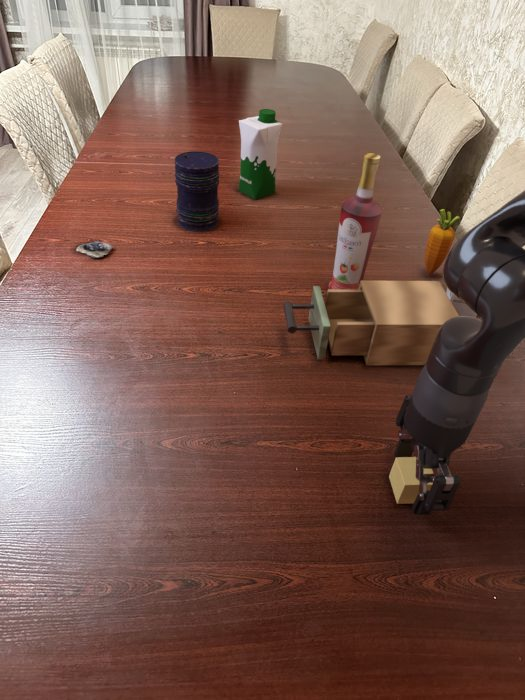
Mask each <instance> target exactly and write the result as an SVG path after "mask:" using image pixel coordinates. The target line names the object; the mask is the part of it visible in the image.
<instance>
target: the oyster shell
mask: <svg viewBox="0 0 525 700" xmlns="http://www.w3.org/2000/svg"><path fill="white" fill-rule="evenodd" d="M113 248H114V246H113V245H112V244H110V243H108V242H104V241H103V242H102V241H98V240H97V241H92V242H90V243H83V244H80V245H78V246H77V247H76V252H79V253H81V254H86V255H87V256H89V257H91V258H93V259H98V258H104V255H105V256H106V255H109V252H111V250H112V249H113Z"/></svg>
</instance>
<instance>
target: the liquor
mask: <svg viewBox="0 0 525 700" xmlns="http://www.w3.org/2000/svg"><path fill="white" fill-rule="evenodd" d="M380 161H381V155H380V154H377V153H373V152H367V153H364V155H363V160H362V173H361V177H360V180H359V184H358V186H357V190H356V194H355V195H354V196H350V197H348V198H346V199H345V200H343V201H342V202H341V207H340V214H339V223H338V229H337V237H336V247H335V257H334V264H333V270H332V277H331V280H330V282H329V283H328V289H348V290H359V285H360V281H361V280H364V277H365V274H366V271H367V266H368V263H369V260H370V255H371V253H372V249H373V246H374V242H375V239H376V236H377V232H378V229H379V225H380V221H381V217H382V214H383V206H381V204H380V203H379V202H378V201H377V200H376V199H374V198H373V197H374V189H375V181H376V174H377V171H378V169H379V165H380Z"/></svg>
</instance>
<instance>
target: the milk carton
mask: <svg viewBox="0 0 525 700" xmlns="http://www.w3.org/2000/svg"><path fill="white" fill-rule="evenodd" d="M276 115H277V114H276V110H273V109H270V108H262V109H260V110H259V111H258V115H256V116H250V117H246V118H243V119H240V120H238V125H239V133H240V166H239V168H240V169H239V170H240V171H239V180H238V186H237V187H238V188H237V190H238V191H239V192H241V193H242V194H244V195H246V196H248V197H249V198H251V199H253V200H254V201H256V200H259V199H262V198H265V197H268V196H271V195H274V194H276V175H277V174H276V171H277V162H278V161H277V160H278V159H277V158H278V147H279V140H280V136H281V131H282V128H283V123H282V122H280V121H278V120H276Z"/></svg>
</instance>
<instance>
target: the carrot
mask: <svg viewBox="0 0 525 700" xmlns="http://www.w3.org/2000/svg"><path fill="white" fill-rule="evenodd" d="M439 215H440V218H437V219H436V221H437V222H438V224H436V225H434V226H433V227H432V228H431V229H430V231H429V234H428V236H427V237H428V238H427V240H426V246H425V252H424V266H425V271H426V275H428V276H432V275H434V273H435V272H436V271H437V270H438V269H439V268H440V267H441V265H443V263H444V262H445V261H446V258H447V256H448V254H449V252H450V251H451V249H452V246H453V243H454V240H455V237H456V231H454V229H453V228H452V226H454V224H455V223H457V222H458V221H459V220H461V217H460V216H459V215H457V216H455V217H454V218H452V212H450V211H447V212H446V209H444V208H442V209H440V210H439Z"/></svg>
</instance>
